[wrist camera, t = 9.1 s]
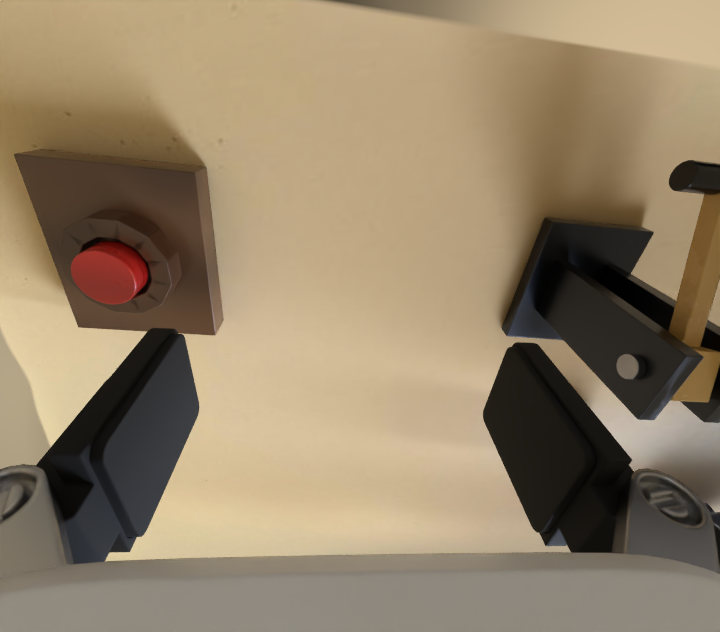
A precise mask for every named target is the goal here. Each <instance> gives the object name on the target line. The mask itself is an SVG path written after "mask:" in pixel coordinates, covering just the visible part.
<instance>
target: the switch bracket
mask: <svg viewBox="0 0 720 632" xmlns="http://www.w3.org/2000/svg"><path fill="white" fill-rule="evenodd" d="M653 233H654V232H652V231H650V230H647V229H645V228H643V227H634V226H624V225H614V224H604V223H595V222H585V221H575V220H565V219H556V218H545V219H544V221H543V224H542V226H541V229H540V231H539V234H538V237H537V239H536V242H535V244H534V247H533V249H532V252H531V254H530V257H529V260H528V262H527V265H526V267H525V270H524V272H523V275H522V278H521V280H520V283H519V285H518V288H517V290H516V293H515V296H514V298H513V301H512V303H511V306H510V308H509V311H508V314H507V316H506V319H505V321H504V324H503V326H502V330H503V331H504V333H505V334H506V336H511V337H527V338H543V339H558V340H564V341H565V342H566V343H567V344H568V345H569V346H570V347H571V348H572V350H573V351H574V352H575V353H576V354H577V355H578V356H579V357H580V358H581V359H582V360H583V361H584V362H585V363H586V364H587V366H588V367H589V368H590V369H591V370H592V371H593V372H594V373H595V374H596V375H597V376H598V377H599V378H600V379H601V381H602V382H603V383H604V384H605V385H606V386H607V387H608V388H609V389H610V390H611V391H612V392H613V393H614V394H615V395H616V397H617V398H618V399H619V400H620V401H621V402H622V403H623V404H624V405H625V406H626V407H627V408H628V409H629V410H630V412H631V413H632V414H633V415H634V416H635V417H636V418H637V419H639V420H655V418H656V417H657V416H658V415H659V413H660V412H661V411H662V410H663V408H664V407H665V406H666V405H667V403H668V402H669V401H670V400H671V398H672V397H673V396H674V395H675V393H676V392H677V391H678V389H679V388H680V387H681V386H682V384H683V383H684V382H685V381H686V379H687V378H688V377H689V376H690V374H691V373H692V372H693V371H694V369H695V368H696V367H697V366H698V364H699V363H700V362H701V361H702V359H703V358H704V356H702V355H701V354H699V353H698V352H696V351H695V350H694V349H692V348H691V347H689V346H688V345H686V344H685V343H684V342H682V341H681V340H679V339H678V338H677V337H675V336H674V335H672V334H671V333H669V332H668V331H669V327H670V323H671V320H672V316H673V312H674V308H675V304H676V301H675V300H673V299H672V298H670V297H668V296H667V295H665V294H663V293H662V292H660V291H658V290H657V289H655V288H653V287H652V286H650V285H648V284H647V283H645V282H643V281H642V280H640V279H638V278H636V277H635V276H633V275H631V272H632V270H633V269H634V267H635V265H636V263H637V262H638V260H639V258H640V256H641V254H642V253H643V251H644V249H645V247H646V246H647V244H648V242H649V240H650V239H651V237H652V235H653ZM700 347H704V348H707V349H711V350H715V351H718V352H720V327H718V326H717V325H715V324H713V323H712V322H710V321H708V320H707V324H706V327H705V331H704V334H703V338H702V341H701V345H700ZM680 402H682V403H683V404H684V405H685V406H686V407H687V408H688V409H689V410H691V411H692V412H693V413H694V414H695V415H696V416H697V417H699V418H700V419H701V420H702V421H703V422H713V423H719V422H720V366H719V369H718V372H717V376H716V379H715V382H714V386H713V389H712V392H711V396H710V399H709V402H691V401H680Z"/></svg>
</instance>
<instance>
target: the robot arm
mask: <svg viewBox="0 0 720 632" xmlns="http://www.w3.org/2000/svg"><path fill="white" fill-rule="evenodd" d="M198 412H199V401H198V397H197V392H196V387H195V383H194V378H193V374H192V369H191V364H190V360H189V355H188V351H187V346H186V341H185V337H184V335H182V334H178V332H177V330H176V329H172V328H151V329H150V330H149V331H148V332H147V333H146V334H145V336H144V337H143V338H142V339H141V341H140V342H139V343H138V344H137V345H136V347H135V348H134V349H133V350H132V351H131V353H130V354H129V355H128V356H127V357H126V359H125V360H124V361H123V362H122V364H121V365H120V366H119V367H118V368H117V370H116V371H115V372H114V373H113V374H112V376H111V377H110V378H109V379H108V380H106V382H105V383H104V384H103V385H102V386H101V388H100V389H99V390H98V391H97V392H96V394H95V395H94V396H93V397H92V398H91V400H90V401H89V402H88V403H87V404H86V406H85V407H84V408H83V409H82V410H81V412H80V413H79V414H78V415H77V417H76V418H75V419H74V420H73V421H72V423H71V424H70V425H69V426H68V427H67V429H66V430H65V431H64V432H63V433H62V435H61V436H60V437H59V438H58V439H57V441H56V442H55V443H54V444H53V445H52V447H51V448H50V449H49V450H48V452H47V453H46V454H45V455H44V456H43V458H42V459H41V460H40V461H39V462H38V464H37V465H36V466H35V465H25V464H22V465H16V466H10V467H6V468H3V469H0V632H720V529H719V528H717V527H715V526H714V524H713V519H712V516H711V514H710V511H709V509H708V508H707V507H706V505H705V504H704V502H703V501H702V500H701V499H700V498H699V497H698V496H697V495H696V494H695V493H694V492H693V491H692V490H691V489H690V488H688V487H687V486H686V485H684V484H683V483H682V482H680V481H678V480H677V479H675V478H673V477H671V476H670V475H667V474H665V473H662V472H660V471H657V470H652V469H638V470H637V471H635V472H634V471H633V470H632V469H631V467H630V466H629V464H630V462H631V461H632V459H631V458H630V457H629V455H628V454H627V453H626V452H625V451H624V449H623V448H622V447H621V446H620V444H619V443H618V442H617V441H616V440H615V438H614V437H613V436H612V435H611V433H610V432H609V431H608V430H607V429H606V427H605V426H604V425H603V424H602V422H601V421H600V420H599V419H598V417H597V416H596V415H595V414H594V413H593V411H592V410H591V409H590V408H589V406H588V405H587V404H586V403H585V402H584V400H583V399H582V398H581V397H580V395H579V394H578V393H577V392H576V391H575V389H574V388H573V387H572V386H571V384H570V383H569V382H568V381H567V379H566V378H565V377H564V376H563V375H562V373H561V372H560V371H559V370H558V368H557V367H556V366H555V365H554V364H553V362H552V361H551V360H550V359H549V357H548V356H547V355H546V354H545V353H544V351H543V350H542V349H541V348H540V346H539V345H537V344H535V343H519V342H517V343H515V344H513V346H512V347H509V348H508V349H507V351H506V353H505V356H504V358H503V361H502V363H501V366H500V369H499V371H498V374H497V376H496V379H495V382H494V384H493V387H492V390H491V392H490V395H489V397H488V400H487V403H486V405H485V408H484V411H483V418H484V422H485V424H486V427H487V429H488V431H489V433H490V435H491V438H492V440H493V442H494V444H495V446H496V449H497V451H498V453H499V455H500V457H501V460H502V462H503V464H504V466H505V468H506V471H507V473H508V475H509V477H510V479H511V482H512V484H513V486H514V488H515V491H516V493H517V495H518V497H519V499H520V502H521V504H522V506H523V508H524V510H525V513H526V515H527V517H528V519H529V521H530V524H531V526H532V527H533V529H534V530H535V531H536V532H539V533H540V535H541V537H542V539H543V541H544V544H545V546H566V545H568V547H569V549H570V551H571V553H561V552H534V553H439V554H373V555H313V556H264V557H217V558H179V559H153V560H127V561H106V562H104V561H105V559H106V557H107V556H108V554H109V552H130V550H131V548H132V546H133V544H134V542H135V540H136V537H141V536H142V535H144V533H145V532H146V530H147V528H148V526H149V524H150V521H151V519H152V517H153V515H154V512H155V510H156V508H157V506H158V504H159V501H160V499H161V497H162V495H163V492H164V490H165V488H166V486H167V483H168V481H169V479H170V477H171V474H172V472H173V470H174V468H175V465H176V463H177V461H178V459H179V457H180V454H181V452H182V450H183V448H184V445H185V443H186V441H187V439H188V436H189V434H190V432H191V430H192V427H193V425H194V423H195V421H196V418H197V416H198Z"/></svg>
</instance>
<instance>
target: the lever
mask: <svg viewBox="0 0 720 632" xmlns="http://www.w3.org/2000/svg"><path fill="white" fill-rule="evenodd" d="M669 185H670V187H671V189H672V190H674V191H679V192H688V193H697V194H704V198H703V202H702V206H701V209H700V213H699V217H698V221H697V225H696V228H695V232H694V236H693V240H692V244H691V247H690V251H689V255H688V259H687V263H686V266H685V270H684V274H683V278H682V282H681V285H680V289H679V293H678V297H677V301H676V304H675V308H674V312H673V316H672V320H671V323H670V327H669V331H668V332H669V333H671V334H672V335H674V336H675V337H677V338H678V339H679V340H681V341H682V342H684V343H685V344H686V345H688V346H689V347H691V348H692V349H694V350H695V351H696V352H698V353H699V354H701V355H702V356H704V358H703V359H702V361H701V362H700V363H699V364H698V366H697V367H696V368H695V369H694V371H693V372H692V373H691V374H690V376H689V377H688V378H687V379H686V381H685V382H684V383H683V384H682V386H681V387H680V388H679V389H678V391H677V392H676V393H675V395H674V396H673V397H672V398H671V400H672V401H691V402H709V399H710V396H711V392H712V389H713V386H714V382H715V379H716V376H717V372H718V369H719V366H720V352H718V351H715V350H711V349H707V348H704V347H700V345H701V341H702V338H703V334H704V331H705V327H706V324H707V320H708V317H709V313H710V310H711V306H712V303H713V299H714V296H715V292H716V289H717V285H718V282H719V278H720V164H717V163H709V162H701V161H694V160H688V161H685V162H682V163H681V164H679V165H678V166H677V167H676V168H675V169H674V170H673V172H672V173H671V175H670V178H669Z"/></svg>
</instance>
